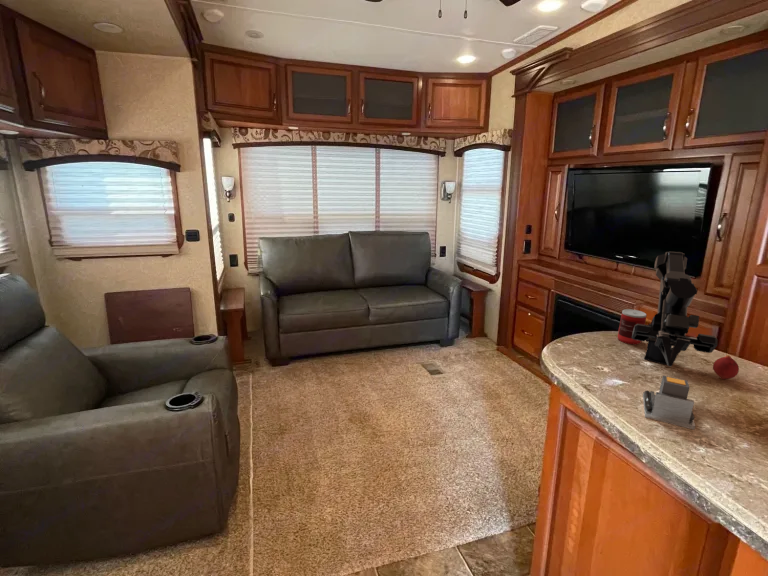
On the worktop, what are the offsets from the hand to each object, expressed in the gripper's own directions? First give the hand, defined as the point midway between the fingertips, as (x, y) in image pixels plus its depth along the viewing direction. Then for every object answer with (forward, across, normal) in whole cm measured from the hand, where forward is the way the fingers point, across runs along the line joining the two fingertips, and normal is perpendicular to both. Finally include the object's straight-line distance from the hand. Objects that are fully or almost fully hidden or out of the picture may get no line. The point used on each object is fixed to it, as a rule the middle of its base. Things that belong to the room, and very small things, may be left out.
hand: (670, 365), depth 107 cm
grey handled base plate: (+13, 0, 0) cm, 13 cm away
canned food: (-21, -8, +34) cm, 41 cm away
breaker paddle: (+14, 0, -3) cm, 14 cm away
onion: (-8, +16, +21) cm, 27 cm away
